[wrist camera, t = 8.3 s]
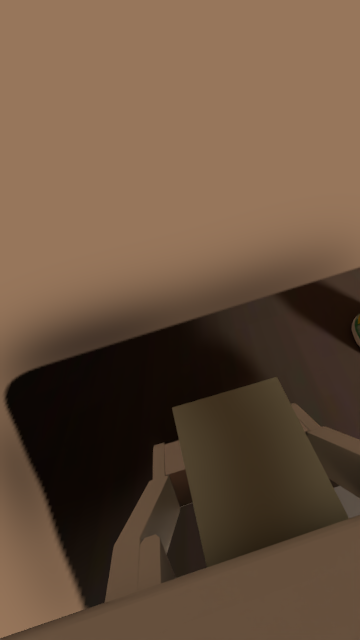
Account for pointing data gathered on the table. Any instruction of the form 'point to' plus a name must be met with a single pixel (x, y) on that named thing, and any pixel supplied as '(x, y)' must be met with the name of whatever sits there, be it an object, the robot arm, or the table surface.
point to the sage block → (252, 471)
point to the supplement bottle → (356, 329)
